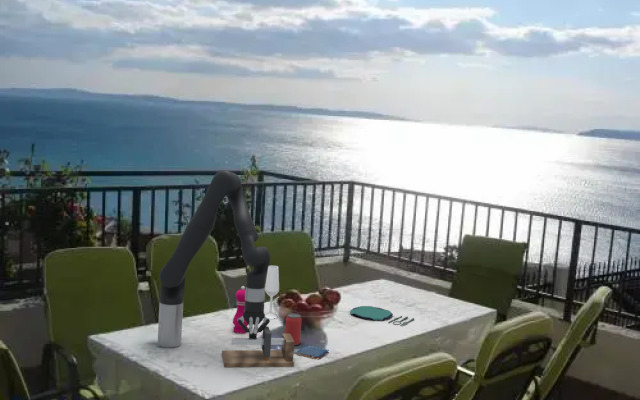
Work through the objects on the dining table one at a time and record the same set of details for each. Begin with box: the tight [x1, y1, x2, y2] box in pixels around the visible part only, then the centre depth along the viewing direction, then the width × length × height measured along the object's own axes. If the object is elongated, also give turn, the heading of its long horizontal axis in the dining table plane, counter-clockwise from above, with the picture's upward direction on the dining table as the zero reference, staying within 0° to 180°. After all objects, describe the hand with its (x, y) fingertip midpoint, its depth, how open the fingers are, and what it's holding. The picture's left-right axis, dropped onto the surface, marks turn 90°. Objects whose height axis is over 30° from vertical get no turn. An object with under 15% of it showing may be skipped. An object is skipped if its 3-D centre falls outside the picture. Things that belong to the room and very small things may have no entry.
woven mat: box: [295, 345, 330, 361], centre depth 274 cm, size 10×11×2 cm
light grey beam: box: [231, 337, 285, 346], centre depth 261 cm, size 20×2×2 cm, turn 102°
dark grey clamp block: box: [261, 325, 272, 357], centre depth 262 cm, size 2×9×9 cm, turn 12°
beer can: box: [284, 312, 303, 346], centre depth 284 cm, size 7×7×12 cm
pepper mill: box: [232, 285, 249, 334], centre depth 295 cm, size 7×7×20 cm
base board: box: [221, 333, 295, 368], centre depth 261 cm, size 26×14×9 cm, turn 102°
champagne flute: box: [265, 265, 280, 320], centre depth 320 cm, size 7×7×24 cm
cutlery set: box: [349, 305, 415, 327], centre depth 333 cm, size 20×30×2 cm, turn 58°
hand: (252, 342), depth 264 cm, fingers closed
